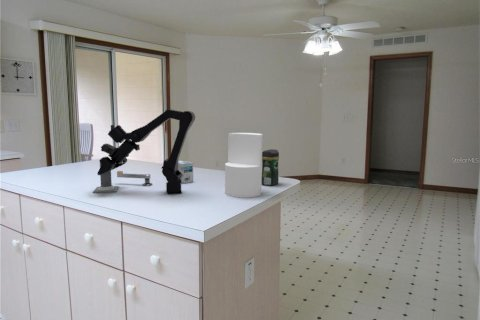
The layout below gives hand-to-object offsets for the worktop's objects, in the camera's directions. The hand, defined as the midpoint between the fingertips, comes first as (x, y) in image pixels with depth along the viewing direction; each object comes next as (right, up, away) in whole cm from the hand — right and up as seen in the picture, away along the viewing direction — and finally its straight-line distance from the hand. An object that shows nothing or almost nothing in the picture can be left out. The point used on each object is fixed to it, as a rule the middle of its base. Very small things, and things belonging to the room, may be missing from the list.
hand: (102, 172), depth 165 cm
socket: (+1, -9, +1) cm, 9 cm away
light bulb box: (+34, -6, +23) cm, 42 cm away
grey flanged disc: (+18, -7, +13) cm, 23 cm away
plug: (+1, -8, +1) cm, 8 cm away
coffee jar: (+81, -7, +19) cm, 84 cm away
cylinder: (+67, -10, 0) cm, 68 cm away
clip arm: (+11, -3, +14) cm, 18 cm away
